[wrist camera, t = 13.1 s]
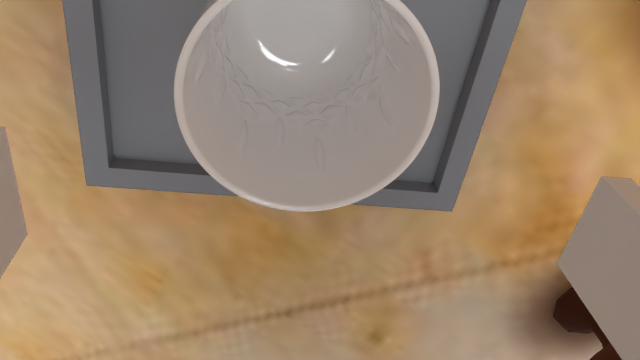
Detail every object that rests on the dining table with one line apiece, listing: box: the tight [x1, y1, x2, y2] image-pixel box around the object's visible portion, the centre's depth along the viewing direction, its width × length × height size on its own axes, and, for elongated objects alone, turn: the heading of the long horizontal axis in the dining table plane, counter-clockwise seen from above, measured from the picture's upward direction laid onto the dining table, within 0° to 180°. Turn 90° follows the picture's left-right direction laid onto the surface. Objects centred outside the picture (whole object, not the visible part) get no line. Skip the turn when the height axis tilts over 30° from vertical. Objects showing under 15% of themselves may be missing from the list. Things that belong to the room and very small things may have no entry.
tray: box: [62, 0, 527, 211], centre depth 24 cm, size 20×20×2 cm
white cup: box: [174, 0, 440, 212], centre depth 20 cm, size 8×8×10 cm
